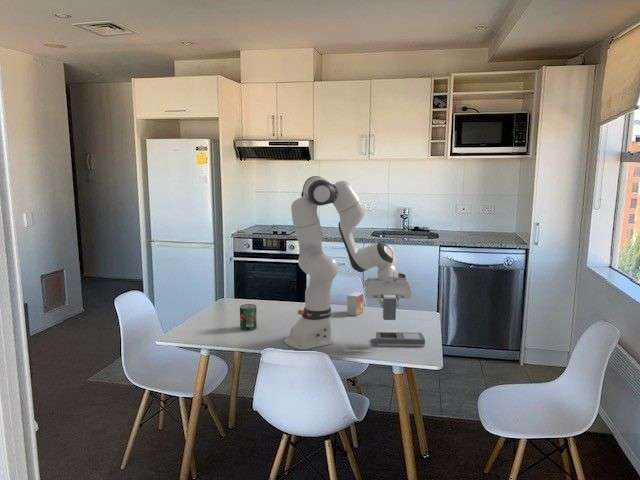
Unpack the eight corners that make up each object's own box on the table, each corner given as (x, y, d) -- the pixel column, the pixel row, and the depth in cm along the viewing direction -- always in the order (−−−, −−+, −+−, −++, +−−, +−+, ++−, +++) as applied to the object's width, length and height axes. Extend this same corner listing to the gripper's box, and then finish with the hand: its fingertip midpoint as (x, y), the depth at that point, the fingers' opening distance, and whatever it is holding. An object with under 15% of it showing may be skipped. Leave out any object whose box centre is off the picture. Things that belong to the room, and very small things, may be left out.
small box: (356, 316, 251) (356, 296, 249) (346, 314, 254) (347, 295, 252) (363, 312, 258) (363, 293, 256) (354, 310, 261) (354, 291, 259)
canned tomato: (236, 328, 231) (236, 306, 230) (249, 324, 237) (249, 302, 235) (247, 332, 226) (246, 309, 224) (260, 328, 232) (259, 306, 230)
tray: (378, 338, 218) (379, 337, 218) (377, 331, 228) (377, 330, 228) (401, 339, 218) (401, 337, 218) (398, 331, 228) (398, 330, 228)
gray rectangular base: (377, 346, 208) (377, 339, 208) (375, 339, 217) (376, 332, 217) (424, 347, 208) (425, 339, 207) (421, 340, 217) (421, 332, 216)
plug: (383, 319, 209) (384, 297, 207) (382, 316, 214) (383, 294, 212) (395, 320, 208) (396, 297, 207) (394, 316, 213) (394, 294, 212)
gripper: (364, 274, 216) (365, 302, 207) (411, 275, 215) (414, 302, 207) (363, 282, 221) (364, 309, 212) (409, 282, 220) (412, 309, 212)
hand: (389, 306), depth 210 cm, fingers closed on plug, 5 cm apart
